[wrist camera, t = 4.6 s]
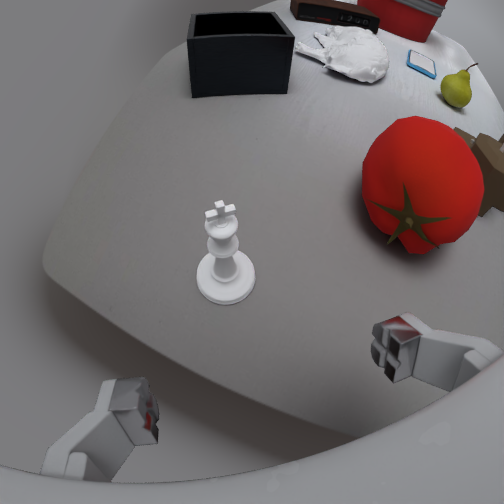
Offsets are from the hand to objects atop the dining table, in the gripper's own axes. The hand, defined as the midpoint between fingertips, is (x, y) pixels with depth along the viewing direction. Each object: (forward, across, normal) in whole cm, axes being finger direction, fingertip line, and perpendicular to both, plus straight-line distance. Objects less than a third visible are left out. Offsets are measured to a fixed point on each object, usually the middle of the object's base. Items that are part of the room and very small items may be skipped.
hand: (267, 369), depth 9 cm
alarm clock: (+65, -42, -47) cm, 91 cm away
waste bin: (+39, -7, -21) cm, 45 cm away
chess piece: (+16, 0, +3) cm, 16 cm away
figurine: (+45, -31, -27) cm, 61 cm away
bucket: (+70, -70, -52) cm, 112 cm away
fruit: (+35, -50, -16) cm, 63 cm away
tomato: (+18, -19, +1) cm, 26 cm away
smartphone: (+47, -56, -29) cm, 78 cm away
